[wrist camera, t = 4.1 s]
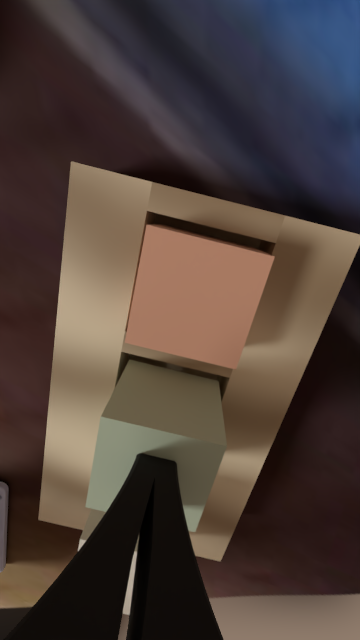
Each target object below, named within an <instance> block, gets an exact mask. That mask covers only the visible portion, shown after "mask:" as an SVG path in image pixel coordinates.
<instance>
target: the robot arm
mask: <svg viewBox="0 0 360 640" xmlns="http://www.w3.org/2000/svg"><path fill="white" fill-rule="evenodd" d="M8 491H9V489H8V486H7V484H5V483H4V482H0V572H2V571H3V569H4V568H5V565H6V543H7V517H8ZM138 536H139V541H138V549H137V557H136V565H135V574H134V582H133V590H132V599H131V607H130V616H129V624H128V630H127V637H126V640H223V637H222V635H221V632H220V629H219V626H218V624H217V621H216V618H215V616H214V613H213V610H212V607H211V604H210V602H209V598H208V595H207V593H206V590H205V587H204V583H203V580H202V577H201V574H200V571H199V567H198V564H197V560H196V557H195V553H194V550H193V546H192V542H191V539H190V535H189V531H188V526H187V522H186V518H185V513H184V509H183V504H182V499H181V493H180V487H179V480H178V471H177V463H176V462H175V461H173V460H168V459H164V458H160V457H156V456H151V455H147V454H143V453H139V454H137V455H136V458H135V461H134V464H133V466H132V468H131V470H130V472H129V474H128V476H127V478H126V480H125V482H124V484H123V485H122V487H121V489H120V491H119V492H118V494H117V495H116V497H115V499H114V500H113V502H112V504H111V505H110V507H109V508H108V510H107V511H106V513H105V514H104V516H103V517H102V519H101V520H100V522H99V523H98V525H97V526H96V527H95V529H94V530H93V532H92V533H91V535H90V536H89V537H88V539H87V540H86V542H85V543H84V544H83V546H82V547H81V548H80V550H79V551H78V552H77V554H76V555H75V556H74V558H73V559H72V560H71V561H70V563H69V564H68V565H67V566H66V568H65V569H64V570H63V571H62V573H61V574H60V575H59V576H58V578H57V579H56V580H55V581H54V582H53V584H52V585H51V586H50V587H49V588H48V590H47V591H46V592H45V593H44V594H43V596H42V597H41V598H40V599H39V600H38V602H37V603H36V604H35V605H34V606H33V607H32V609H31V610H30V611H29V612H28V613H27V614H26V616H25V617H24V618H23V619H22V620H21V621H20V622H19V623H18V624H17V626H16V627H15V628H14V629H13V630H12V631H11V632H10V633H9V634H8V635H7V637H6V638H5V639H4V640H118V635H119V629H120V624H121V618H122V613H123V607H124V602H125V597H126V591H127V586H128V580H129V575H130V570H131V564H132V559H133V555H134V551H135V547H136V544H137V540H138Z"/></svg>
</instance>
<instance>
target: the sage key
mask: <svg viewBox="0 0 360 640" xmlns="http://www.w3.org/2000/svg"><path fill="white" fill-rule="evenodd" d="M226 448H227V442H226V434H225V426H224V419H223V411H222V403H221V396H220V388H219V381H217V380H213V379H208V378H204V377H200V376H196V375H192V374H188V373H184V372H179V371H175V370H171V369H167V368H163V367H159V366H154V365H150V364H146V363H142V362H138V361H134V360H129V361H128V363H127V365H126V367H125V369H124V371H123V373H122V375H121V377H120V379H119V381H118V383H117V385H116V387H115V389H114V391H113V393H112V395H111V397H110V399H109V401H108V403H107V405H106V407H105V409H104V411H103V413H102V415H101V418H100V424H99V429H98V435H97V441H96V447H95V453H94V459H93V465H92V471H91V477H90V482H89V488H88V494H87V500H86V506H85V507H87V508H91V509H95V510H100V511H104V512H106V511H107V510H108V508H109V507H110V505H111V504H112V502H113V500H114V499H115V497H116V495H117V494H118V492H119V491H120V489H121V487H122V485H123V484H124V482H125V480H126V478H127V476H128V474H129V472H130V470H131V468H132V466H133V464H134V461H135V458H136V455H137V454H139V453H143V454H147V455H151V456H156V457H160V458H164V459H168V460H173V461H175V462H176V463H177V471H178V480H179V487H180V493H181V499H182V504H183V509H184V513H185V518H186V522H187V526H188V531H191V532H195V531H196V529H197V526H198V523H199V521H200V518H201V515H202V512H203V510H204V507H205V504H206V502H207V499H208V496H209V494H210V491H211V488H212V486H213V483H214V480H215V477H216V475H217V472H218V469H219V467H220V464H221V461H222V459H223V456H224V453H225V451H226Z"/></svg>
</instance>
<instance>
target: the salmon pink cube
mask: <svg viewBox="0 0 360 640" xmlns="http://www.w3.org/2000/svg"><path fill="white" fill-rule="evenodd" d="M274 258H275V256H272V255H270V254H268V253H265V252H263V251H261V250H258V249H256V248H254V247H251V246H247V245H243V244H239V243H235V242H231V241H227V240H223V239H219V238H215V237H211V236H207V235H203V234H199V233H195V232H191V231H187V230H183V229H179V228H175V227H171V226H167V225H163V224H149V225H146V230H145V236H144V241H143V247H142V252H141V257H140V263H139V268H138V274H137V279H136V284H135V290H134V295H133V301H132V306H131V311H130V317H129V322H128V328H127V333H126V338H125V343H128V344H132V345H136V346H140V347H144V348H149V349H153V350H157V351H161V352H165V353H169V354H173V355H178V356H182V357H186V358H190V359H194V360H198V361H202V362H207V363H211V364H215V365H219V366H223V367H227V368H231V369H236V368H237V365H238V362H239V359H240V356H241V353H242V351H243V348H244V345H245V342H246V339H247V336H248V333H249V330H250V327H251V324H252V322H253V319H254V316H255V313H256V310H257V307H258V304H259V301H260V298H261V295H262V293H263V290H264V287H265V284H266V281H267V278H268V275H269V272H270V269H271V266H272V264H273V261H274Z"/></svg>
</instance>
